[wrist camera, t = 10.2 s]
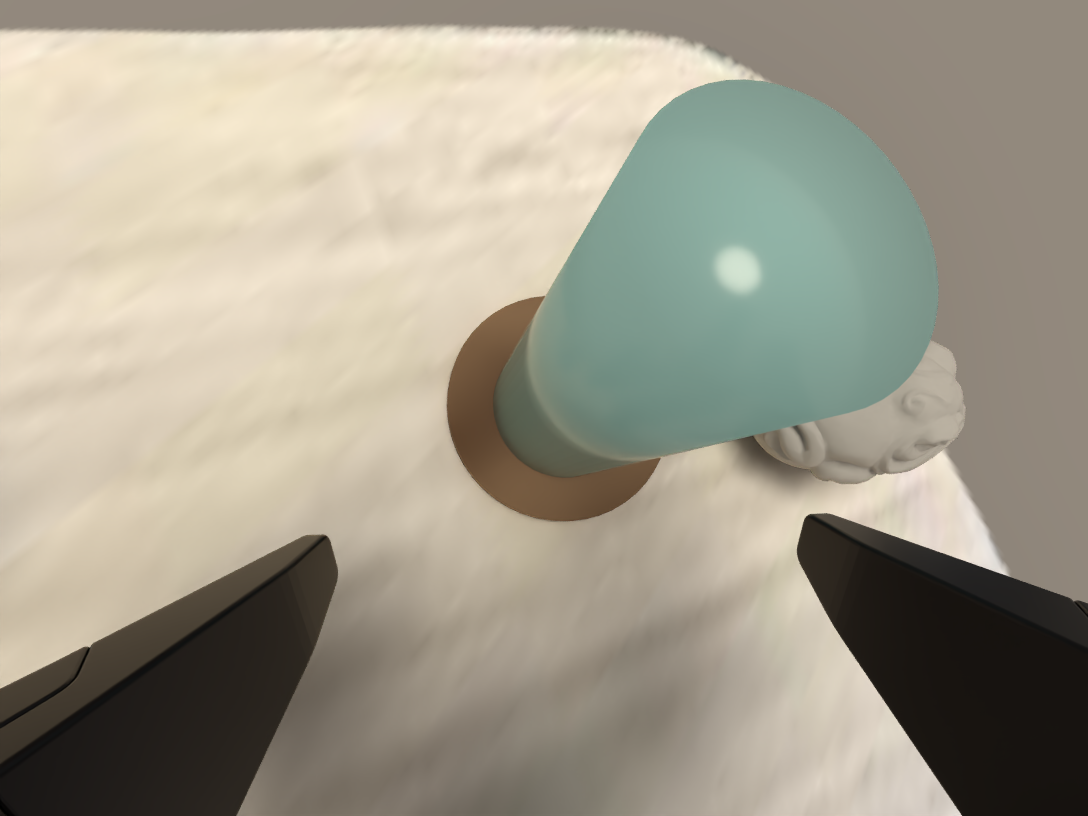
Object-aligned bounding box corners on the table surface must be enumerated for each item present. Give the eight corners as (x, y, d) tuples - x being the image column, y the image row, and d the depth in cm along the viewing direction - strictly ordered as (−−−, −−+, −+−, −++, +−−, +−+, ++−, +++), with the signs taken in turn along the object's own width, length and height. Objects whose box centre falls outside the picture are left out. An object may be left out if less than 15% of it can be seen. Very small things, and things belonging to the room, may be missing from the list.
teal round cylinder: (653, 440, 20) (992, 334, 8) (533, 503, 18) (743, 482, 7) (591, 318, 21) (829, 52, 9) (468, 369, 19) (556, 123, 7)
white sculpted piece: (839, 501, 22) (1016, 495, 16) (700, 471, 21) (831, 451, 14) (841, 374, 24) (1004, 321, 17) (712, 339, 23) (835, 266, 16)
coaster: (700, 445, 21) (707, 443, 21) (525, 568, 18) (529, 569, 18) (589, 269, 22) (594, 262, 21) (402, 362, 19) (402, 357, 18)
